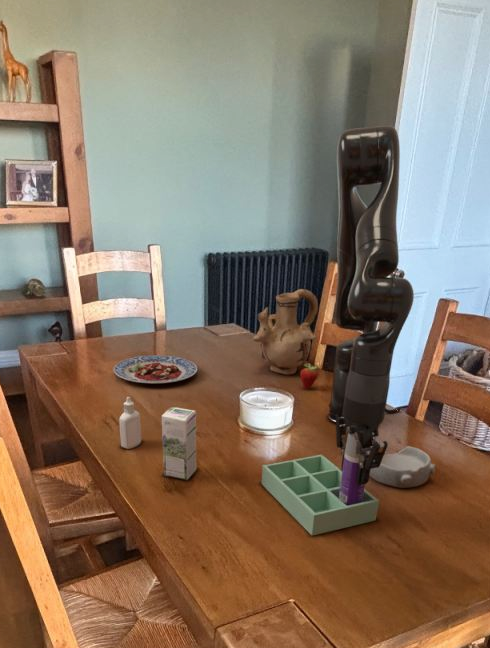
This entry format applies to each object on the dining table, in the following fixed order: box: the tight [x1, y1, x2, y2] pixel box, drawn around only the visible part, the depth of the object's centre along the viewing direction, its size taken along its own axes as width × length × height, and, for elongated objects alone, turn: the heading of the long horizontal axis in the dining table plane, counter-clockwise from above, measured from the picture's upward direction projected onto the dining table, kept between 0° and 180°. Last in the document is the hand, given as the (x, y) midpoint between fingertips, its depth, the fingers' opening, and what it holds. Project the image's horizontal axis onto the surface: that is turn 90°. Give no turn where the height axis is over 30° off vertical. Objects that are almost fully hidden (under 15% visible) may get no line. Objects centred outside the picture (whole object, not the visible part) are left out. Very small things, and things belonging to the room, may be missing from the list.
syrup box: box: [161, 406, 198, 481], centre depth 132 cm, size 6×6×14 cm
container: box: [339, 433, 370, 506], centre depth 118 cm, size 5×5×15 cm
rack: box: [261, 454, 380, 536], centre depth 126 cm, size 15×22×5 cm
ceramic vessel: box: [252, 288, 319, 376], centre depth 191 cm, size 18×19×25 cm
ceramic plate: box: [113, 354, 198, 385], centre depth 190 cm, size 26×26×3 cm
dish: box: [369, 445, 436, 489], centre depth 137 cm, size 14×14×5 cm
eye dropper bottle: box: [118, 396, 143, 450], centre depth 144 cm, size 4×6×12 cm
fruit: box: [300, 362, 319, 390], centre depth 182 cm, size 5×5×8 cm
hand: (354, 477), depth 119 cm, fingers closed on container, 4 cm apart
